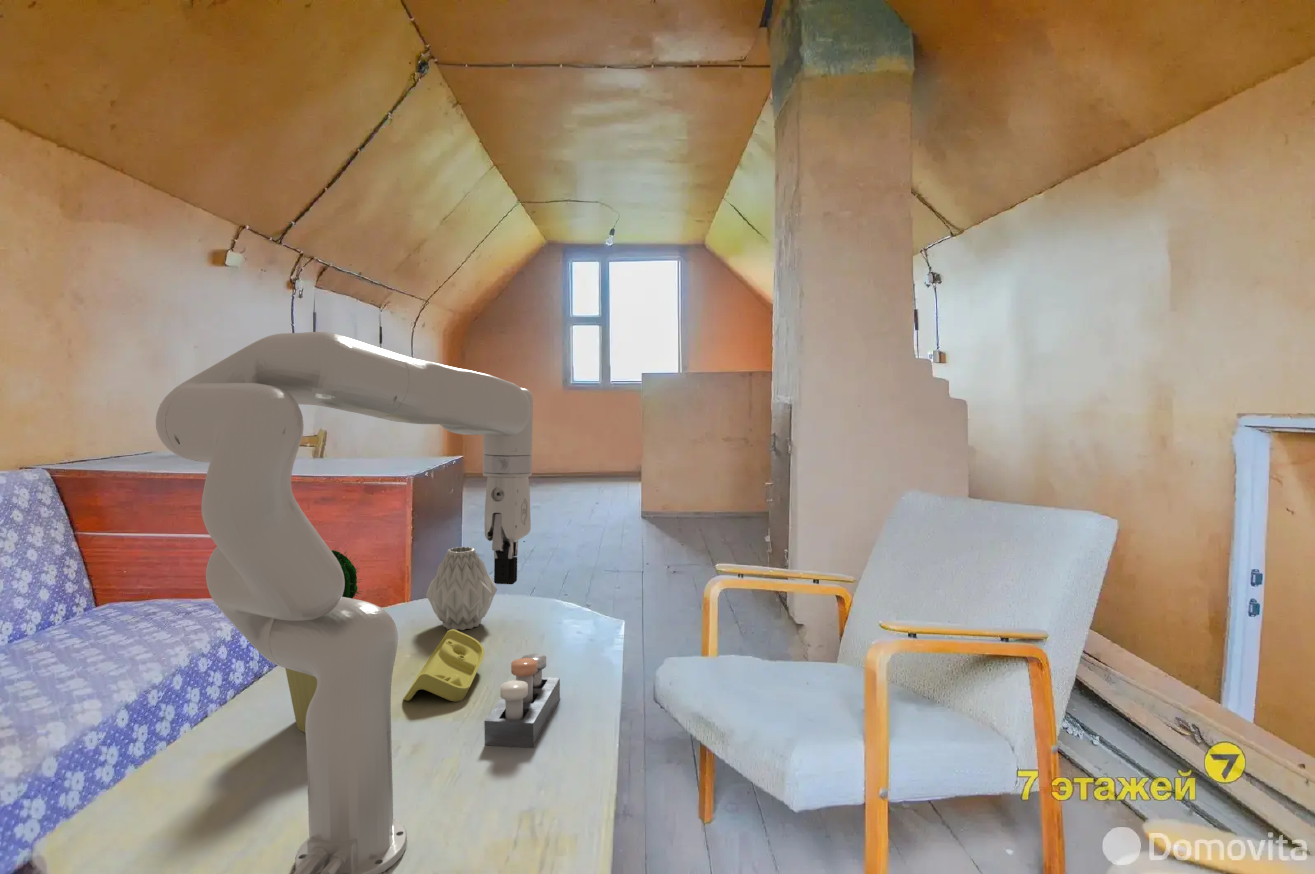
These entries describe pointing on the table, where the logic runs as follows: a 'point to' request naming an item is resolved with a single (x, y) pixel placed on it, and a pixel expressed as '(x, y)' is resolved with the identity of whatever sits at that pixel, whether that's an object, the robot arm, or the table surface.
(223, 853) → the table surface
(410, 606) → the table surface
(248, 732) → the table surface
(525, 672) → the terracotta plunger
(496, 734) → the grey socket block
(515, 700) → the ivory plunger
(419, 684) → the plastic component
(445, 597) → the vase
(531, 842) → the table surface
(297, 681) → the potted cactus
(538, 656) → the grey plunger
